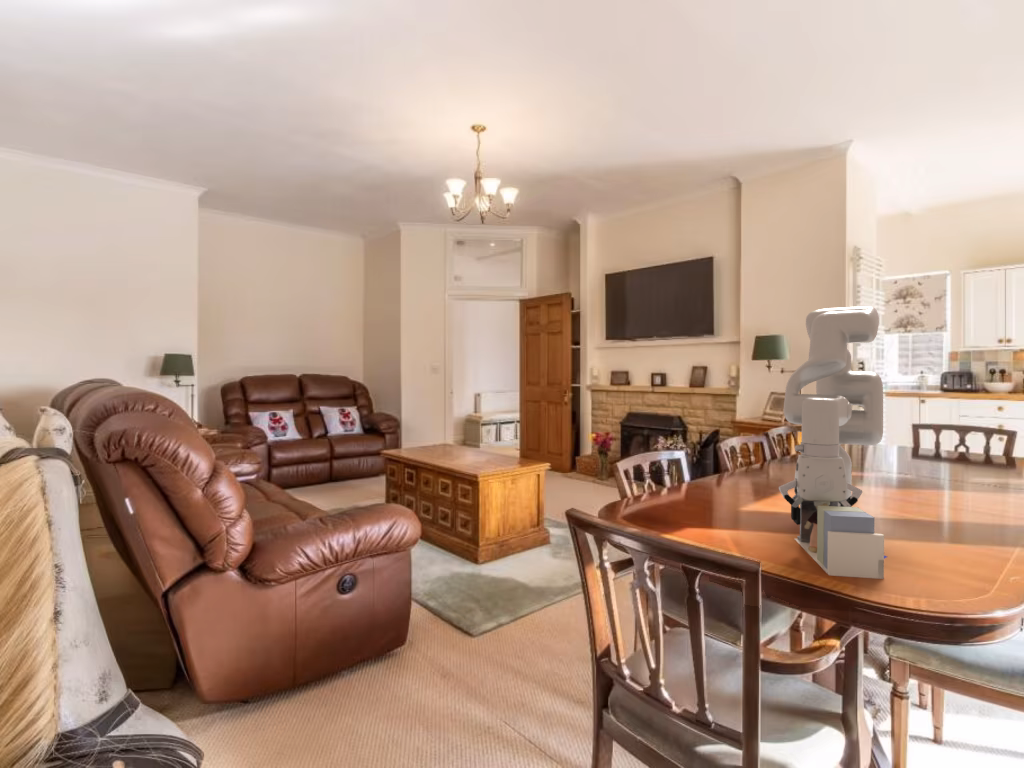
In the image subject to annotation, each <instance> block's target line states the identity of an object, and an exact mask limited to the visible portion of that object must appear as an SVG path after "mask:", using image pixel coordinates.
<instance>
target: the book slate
mask: <svg viewBox="0 0 1024 768" xmlns="http://www.w3.org/2000/svg"><path fill="white" fill-rule="evenodd" d="M828 531H832V532H853V533H873V534H875V517H874V516H872V515H871V514H869V513H867V512H866V511H865V512H843V511H824V567H825V568H826V569H827V551H828Z"/></svg>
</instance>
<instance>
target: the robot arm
mask: <svg viewBox="0 0 1024 768" xmlns="http://www.w3.org/2000/svg"><path fill="white" fill-rule="evenodd" d="M879 317H880V316H879V313H878V311H877V309H876V308H875V307H874V306H870V305H868V306H865V305H864V306H850V307H849V306H847V307H829V308H828V307H827V308H821V309H816V310H813V311H811V312H809V313H808V314H807V315H806V317H805V327H806V332H807V335H808V338H809V340H810V341H809V351H808V360H806V361H805V362H804V363H802V364H801V365H800V366H798V368H796V370H795V371H793V373H792V374H791V375H790V377H789V378H788V381H787V383H786V387H785V392H784V393H785V394H784V401H783V416H784V418H785V420H786V421H787V422H788V423H790V424H794V425H801V441H800V443H799V444H798V445H796V444H794V450H795V452H799V453H800V454H798V458H797V460H796V465H795V466H796V467H795V473H794V479H793V480H791V481H789V482H786V483H784V484H782V485H780V486H778V490H779V492H780V493H781V496H782V497H783V499H785V500H786V502H788V503H789V504H790V518H791V520H792V521H793V523H795V524H796V525H797V526H800V524H801V509H800V504H801V503H802V502H803V500H806V501H822V502H838V506H840V507H854V505H856V504H857V502H858V500H859V499H860V497H861V495H862V493H863V490H862V489H861V488H858V487H857V486H854V485H853V484H852V480H853V479H852V467H853V466H852V464H853V463H852V458H851V456H850V455H849V453H848V452H847V450H846V449H844V447H843V446H842V445H858V446H859V445H861V446H874V445H879V444H880V442H881V441H882V440H883V436H884V384H883V381H882V378H881V376H880V375H879V374H878V373H877V372H874V371H866V370H865V371H864V370H863V371H861V370H860V371H858V370H857V371H855V370H854V371H853V370H852V353H851V352H850V350H849V349H848V344H864V343H866V344H867V343H868V344H869V343H872V342H873V341H874V340H875V339H876V338H877V335H878V331H879V326H880V325H879V324H880V318H879ZM813 382H816V384H815V386H816V387H815V389H816V393H813V394H812V393H800V391H801V390H802V389H803V388H804V387H806V386H807V385H809V384H811V383H813ZM852 406H860V407H862V408H863V409H853V407H852ZM791 489H793V490H794V495H793V496H792V497H791V496H790V494H789V492H788V491H790V490H791Z"/></svg>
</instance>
